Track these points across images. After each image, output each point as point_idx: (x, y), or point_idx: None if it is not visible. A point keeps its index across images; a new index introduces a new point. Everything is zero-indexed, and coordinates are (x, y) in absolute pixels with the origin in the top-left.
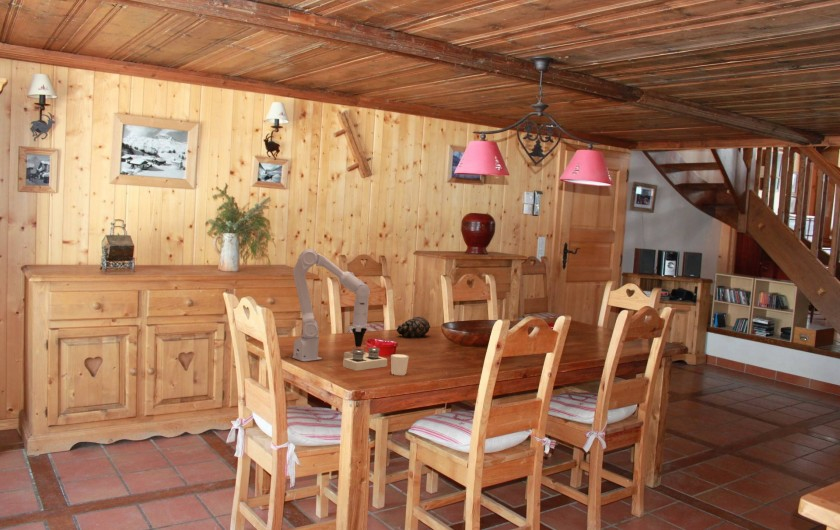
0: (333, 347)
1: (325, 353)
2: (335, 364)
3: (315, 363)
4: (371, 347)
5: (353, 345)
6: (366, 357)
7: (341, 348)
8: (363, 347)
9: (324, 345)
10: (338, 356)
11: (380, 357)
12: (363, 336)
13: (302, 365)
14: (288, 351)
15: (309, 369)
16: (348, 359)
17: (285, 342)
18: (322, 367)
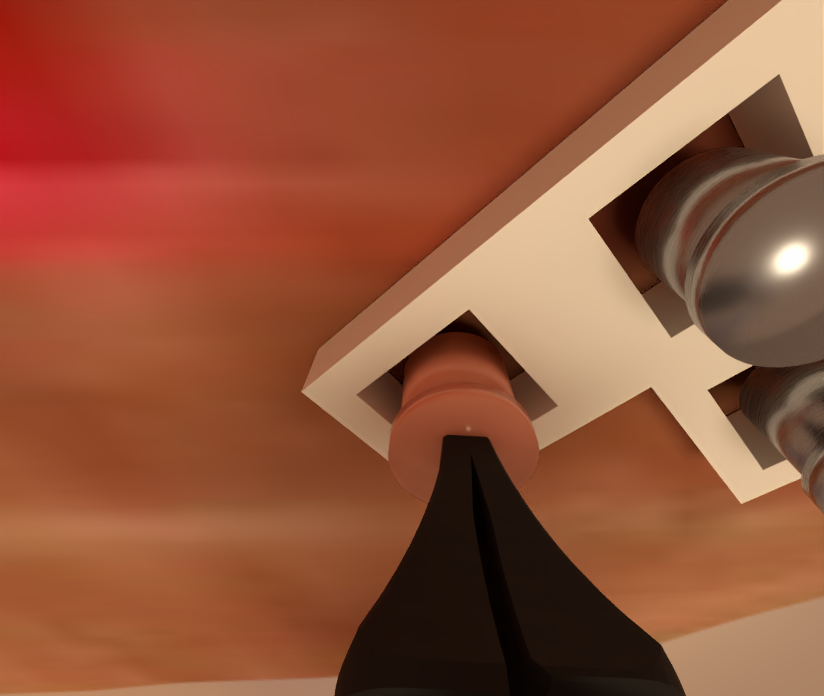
0: (34, 519)
1: (275, 551)
2: (626, 494)
3: (601, 582)
4: (715, 318)
5: (427, 502)
6: (648, 308)
7: (23, 475)
8: (499, 401)
9: (15, 563)
10: (338, 485)
11: (685, 112)
12: (475, 543)
13: (659, 624)
14: (316, 674)
15: (770, 598)
16: (772, 470)
17: (100, 689)
18: (721, 551)
